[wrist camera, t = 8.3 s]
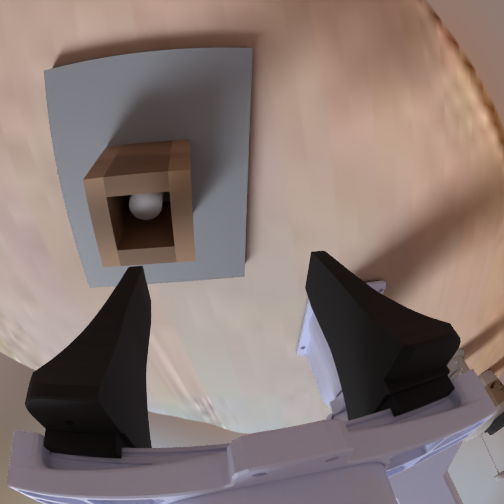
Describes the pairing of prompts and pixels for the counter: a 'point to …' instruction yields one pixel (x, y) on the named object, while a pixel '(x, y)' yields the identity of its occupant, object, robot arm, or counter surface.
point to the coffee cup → (494, 399)
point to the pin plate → (159, 129)
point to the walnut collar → (141, 182)
